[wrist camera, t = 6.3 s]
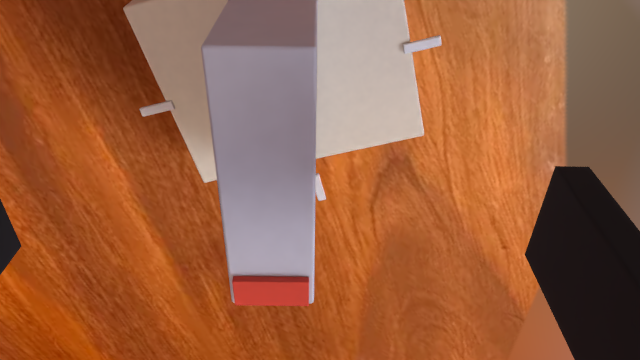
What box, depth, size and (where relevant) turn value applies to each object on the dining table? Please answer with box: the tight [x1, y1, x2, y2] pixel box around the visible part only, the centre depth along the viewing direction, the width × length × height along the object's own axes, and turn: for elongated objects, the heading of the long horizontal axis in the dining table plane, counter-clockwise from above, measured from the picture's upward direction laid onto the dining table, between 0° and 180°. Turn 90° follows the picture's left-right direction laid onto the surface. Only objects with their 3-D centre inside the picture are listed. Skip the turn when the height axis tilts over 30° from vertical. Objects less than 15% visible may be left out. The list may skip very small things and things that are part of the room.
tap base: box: [123, 0, 442, 201], centre depth 20 cm, size 12×12×3 cm
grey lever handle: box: [201, 0, 318, 306], centre depth 16 cm, size 8×2×8 cm, turn 179°
